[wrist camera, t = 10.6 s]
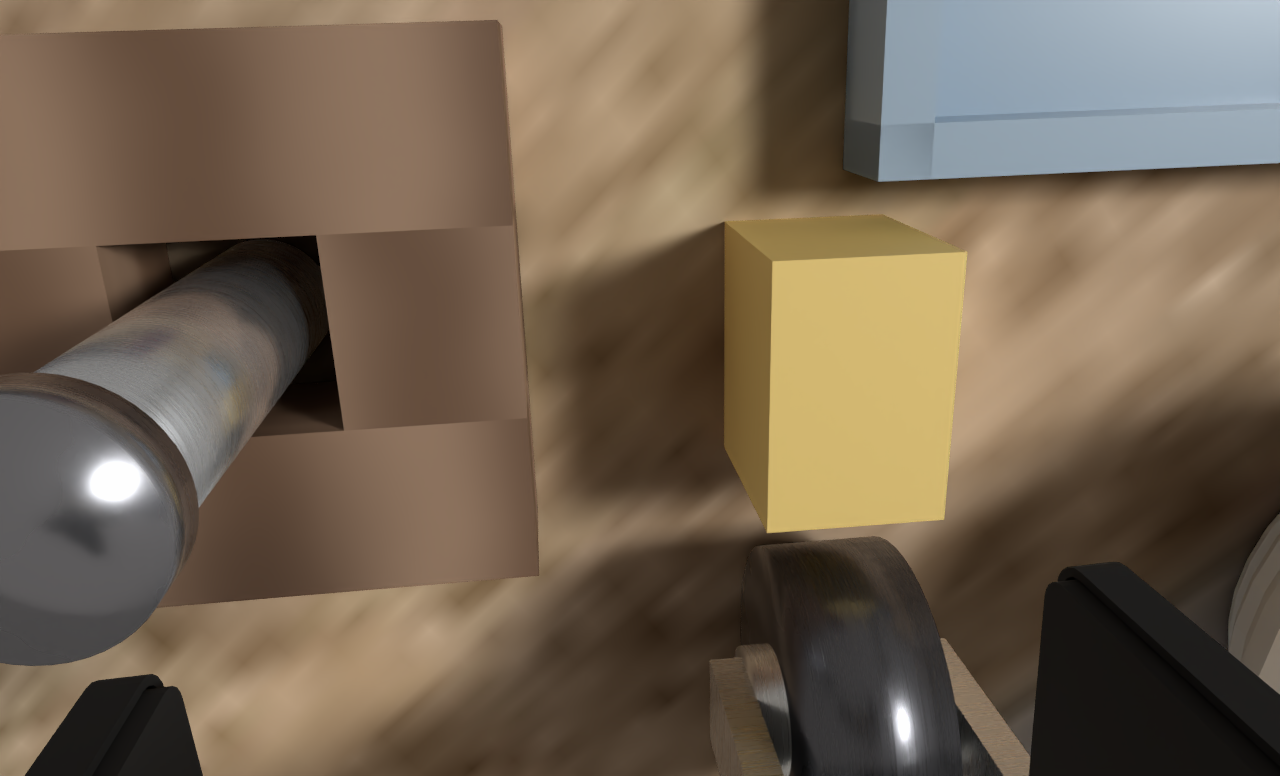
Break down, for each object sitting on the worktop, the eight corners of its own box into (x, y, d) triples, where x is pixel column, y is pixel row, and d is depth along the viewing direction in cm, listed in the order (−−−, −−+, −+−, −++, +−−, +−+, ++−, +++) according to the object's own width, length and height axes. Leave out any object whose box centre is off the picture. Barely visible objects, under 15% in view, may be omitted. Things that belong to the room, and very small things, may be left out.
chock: (881, 214, 24) (967, 251, 19) (868, 435, 26) (944, 519, 21) (724, 220, 24) (772, 261, 19) (723, 445, 25) (767, 532, 21)
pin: (336, 222, 22) (140, 388, 11) (355, 368, 24) (197, 652, 12) (177, 230, 22) (-192, 410, 11) (205, 377, 23) (-101, 678, 12)
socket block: (501, 26, 21) (497, 19, 18) (537, 508, 25) (539, 575, 22) (-67, 43, 20) (-182, 39, 17) (63, 545, 24) (-10, 621, 21)
